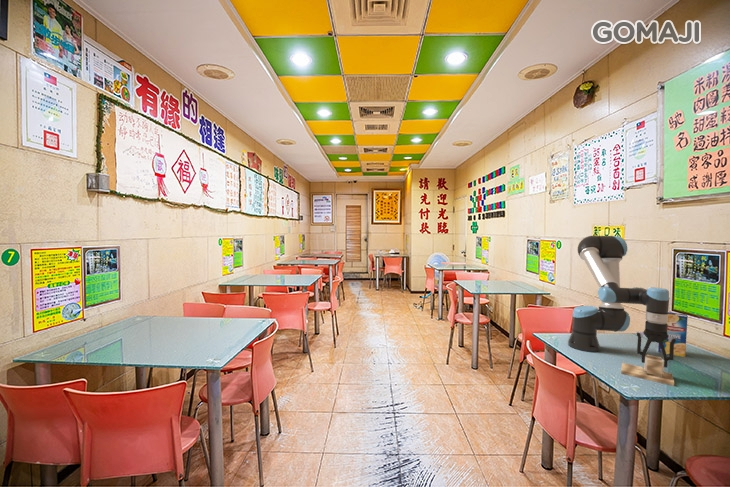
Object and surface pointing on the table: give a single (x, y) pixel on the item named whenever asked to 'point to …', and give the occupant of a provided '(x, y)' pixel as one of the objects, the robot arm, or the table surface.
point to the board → (640, 373)
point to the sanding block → (654, 366)
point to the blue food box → (676, 333)
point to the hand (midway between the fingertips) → (653, 371)
